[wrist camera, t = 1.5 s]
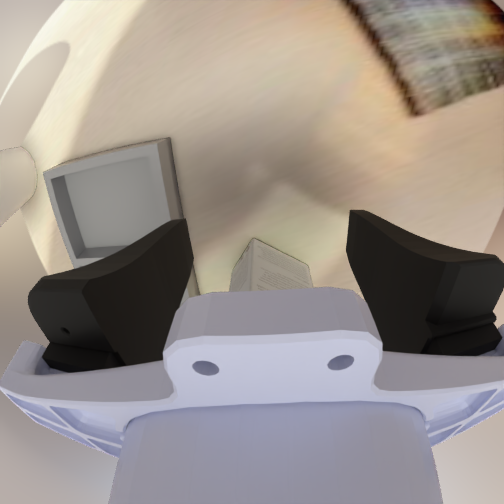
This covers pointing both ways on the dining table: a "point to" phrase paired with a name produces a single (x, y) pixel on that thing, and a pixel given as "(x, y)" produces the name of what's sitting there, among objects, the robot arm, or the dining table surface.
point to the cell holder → (115, 200)
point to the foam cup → (15, 180)
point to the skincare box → (268, 270)
